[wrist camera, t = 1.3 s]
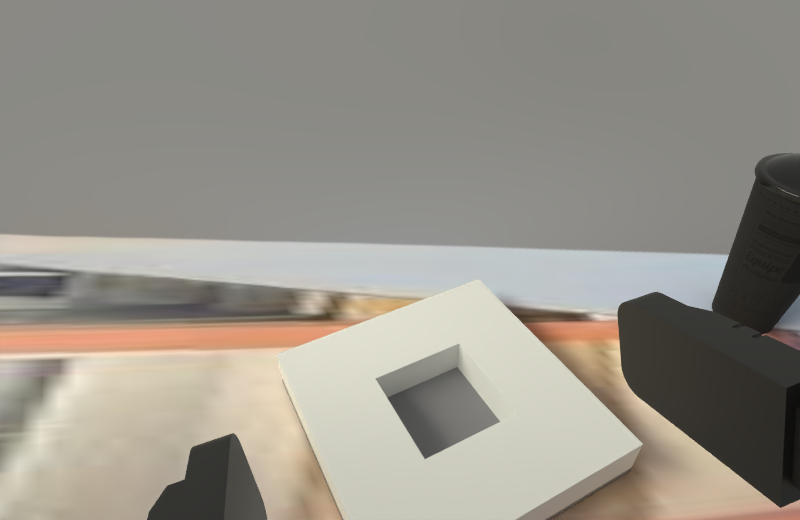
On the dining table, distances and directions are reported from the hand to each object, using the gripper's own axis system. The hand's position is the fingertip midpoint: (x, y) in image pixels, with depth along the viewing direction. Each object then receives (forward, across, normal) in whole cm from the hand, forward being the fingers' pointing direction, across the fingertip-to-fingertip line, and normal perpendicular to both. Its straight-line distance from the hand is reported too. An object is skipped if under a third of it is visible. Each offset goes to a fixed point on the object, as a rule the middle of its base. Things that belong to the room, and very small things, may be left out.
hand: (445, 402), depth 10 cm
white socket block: (+22, -4, +18) cm, 29 cm away
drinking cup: (+25, -33, +20) cm, 46 cm away
